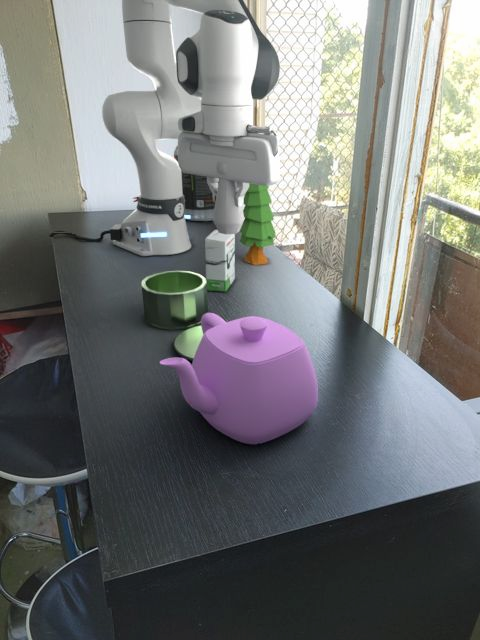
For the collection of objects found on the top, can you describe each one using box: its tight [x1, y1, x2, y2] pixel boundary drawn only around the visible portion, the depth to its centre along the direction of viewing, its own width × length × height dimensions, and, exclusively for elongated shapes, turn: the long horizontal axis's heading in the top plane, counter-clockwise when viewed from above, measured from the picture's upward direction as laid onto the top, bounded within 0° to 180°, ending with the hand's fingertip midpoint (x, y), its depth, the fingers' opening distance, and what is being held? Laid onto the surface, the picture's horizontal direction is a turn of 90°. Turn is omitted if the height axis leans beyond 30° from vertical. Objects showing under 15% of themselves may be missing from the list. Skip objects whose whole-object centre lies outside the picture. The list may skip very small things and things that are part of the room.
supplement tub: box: [173, 144, 219, 222], centre depth 168 cm, size 16×16×26 cm
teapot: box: [159, 312, 319, 445], centre depth 74 cm, size 23×21×15 cm
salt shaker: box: [212, 162, 245, 235], centre depth 95 cm, size 6×6×13 cm
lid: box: [174, 325, 203, 362], centre depth 94 cm, size 14×14×5 cm
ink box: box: [204, 229, 236, 293], centre depth 119 cm, size 9×5×12 cm, turn 168°
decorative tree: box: [239, 184, 277, 266], centre depth 129 cm, size 10×9×30 cm
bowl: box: [141, 270, 209, 331], centre depth 105 cm, size 13×13×8 cm
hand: (227, 204), depth 96 cm, fingers closed on salt shaker, 3 cm apart
